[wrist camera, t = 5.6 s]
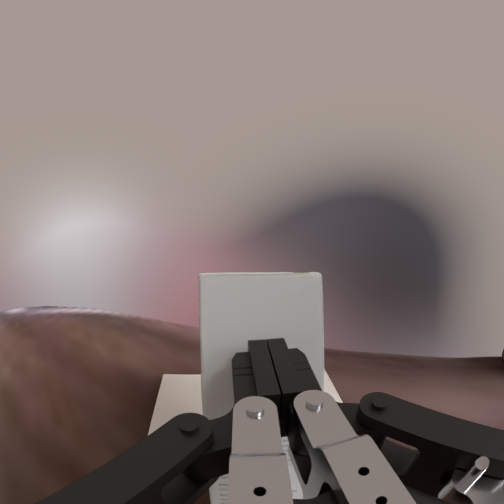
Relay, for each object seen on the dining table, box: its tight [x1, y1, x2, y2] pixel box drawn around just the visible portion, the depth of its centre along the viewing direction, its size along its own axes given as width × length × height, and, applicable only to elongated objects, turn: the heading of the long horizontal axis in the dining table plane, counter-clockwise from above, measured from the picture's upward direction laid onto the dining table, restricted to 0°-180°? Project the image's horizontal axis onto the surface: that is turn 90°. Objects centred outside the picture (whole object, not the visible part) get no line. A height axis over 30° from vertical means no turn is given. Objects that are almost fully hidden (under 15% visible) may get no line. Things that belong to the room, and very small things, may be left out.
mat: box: [148, 369, 343, 435], centre depth 24 cm, size 18×12×1 cm, turn 95°
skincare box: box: [199, 272, 324, 504], centre depth 15 cm, size 8×6×15 cm
